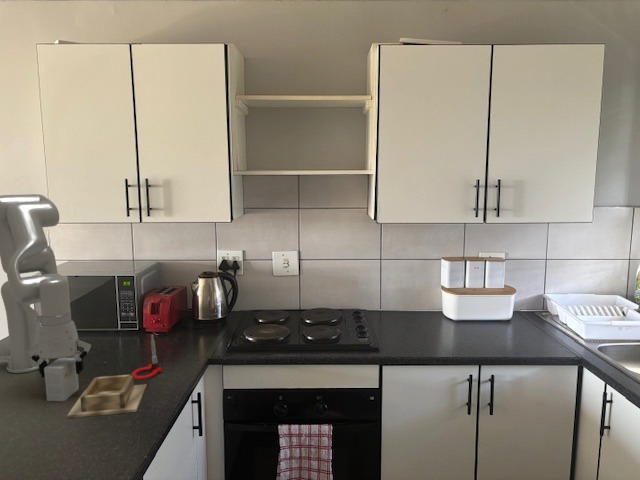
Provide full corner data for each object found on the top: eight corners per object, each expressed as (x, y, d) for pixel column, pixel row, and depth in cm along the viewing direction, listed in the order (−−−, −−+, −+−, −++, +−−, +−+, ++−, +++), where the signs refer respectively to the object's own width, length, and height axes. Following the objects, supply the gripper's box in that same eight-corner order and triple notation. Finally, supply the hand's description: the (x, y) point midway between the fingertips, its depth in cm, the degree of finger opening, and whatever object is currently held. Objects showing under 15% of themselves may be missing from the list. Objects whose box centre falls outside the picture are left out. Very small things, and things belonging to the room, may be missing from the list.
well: (67, 418, 127) (65, 401, 127) (85, 391, 143) (84, 376, 142) (136, 411, 131) (135, 395, 130) (146, 386, 146) (145, 371, 145)
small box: (62, 389, 145) (59, 357, 144) (79, 389, 145) (76, 357, 143) (46, 401, 137) (43, 367, 136) (64, 401, 137) (61, 367, 135)
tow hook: (140, 383, 149) (165, 372, 157) (136, 346, 147) (161, 336, 155) (126, 377, 154) (150, 366, 162) (121, 340, 152) (146, 331, 160)
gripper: (19, 325, 132) (25, 382, 134) (84, 320, 135) (89, 376, 137) (30, 317, 140) (36, 371, 142) (91, 313, 143) (96, 366, 145)
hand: (62, 374), depth 140 cm, fingers open, 9 cm apart
